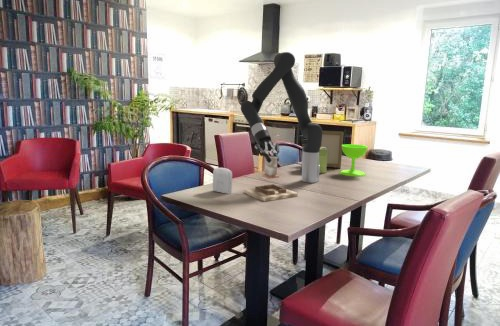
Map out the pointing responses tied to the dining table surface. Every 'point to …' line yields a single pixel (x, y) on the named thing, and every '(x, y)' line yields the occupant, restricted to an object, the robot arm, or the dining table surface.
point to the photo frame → (333, 147)
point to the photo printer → (222, 180)
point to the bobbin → (271, 168)
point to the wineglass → (353, 158)
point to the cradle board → (270, 192)
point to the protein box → (321, 159)
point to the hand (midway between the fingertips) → (273, 161)
